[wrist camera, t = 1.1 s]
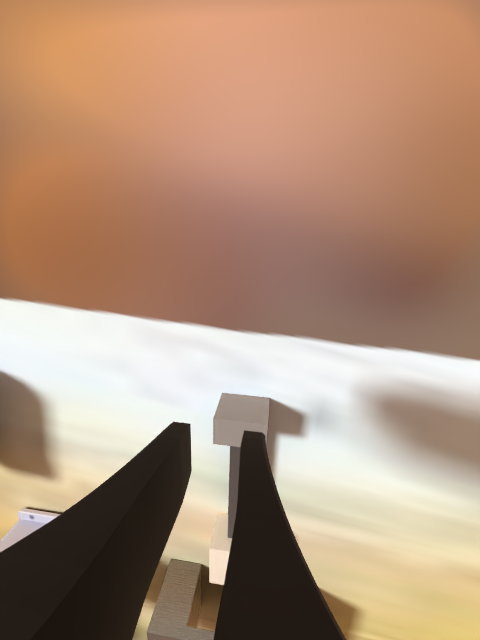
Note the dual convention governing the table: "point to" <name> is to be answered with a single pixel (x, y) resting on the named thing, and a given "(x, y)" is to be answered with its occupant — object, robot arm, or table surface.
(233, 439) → the dumbbell with block ends
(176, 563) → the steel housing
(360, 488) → the table surface
